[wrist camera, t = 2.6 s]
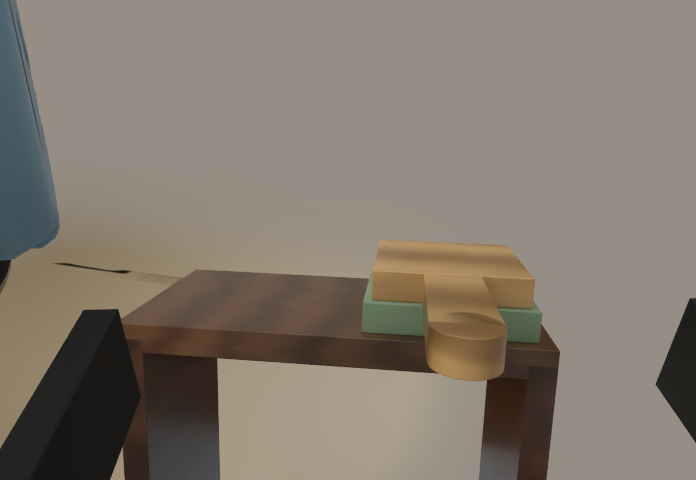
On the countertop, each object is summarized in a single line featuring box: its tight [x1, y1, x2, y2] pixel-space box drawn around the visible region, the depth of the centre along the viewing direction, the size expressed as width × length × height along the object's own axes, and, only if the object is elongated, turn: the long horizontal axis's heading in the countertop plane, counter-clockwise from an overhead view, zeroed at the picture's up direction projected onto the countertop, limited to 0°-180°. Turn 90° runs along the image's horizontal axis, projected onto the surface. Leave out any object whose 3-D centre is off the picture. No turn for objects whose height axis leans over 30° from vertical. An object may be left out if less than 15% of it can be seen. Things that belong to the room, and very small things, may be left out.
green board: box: [362, 260, 542, 343], centre depth 40 cm, size 11×12×2 cm
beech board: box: [371, 240, 535, 381], centre depth 34 cm, size 21×10×2 cm, turn 174°
